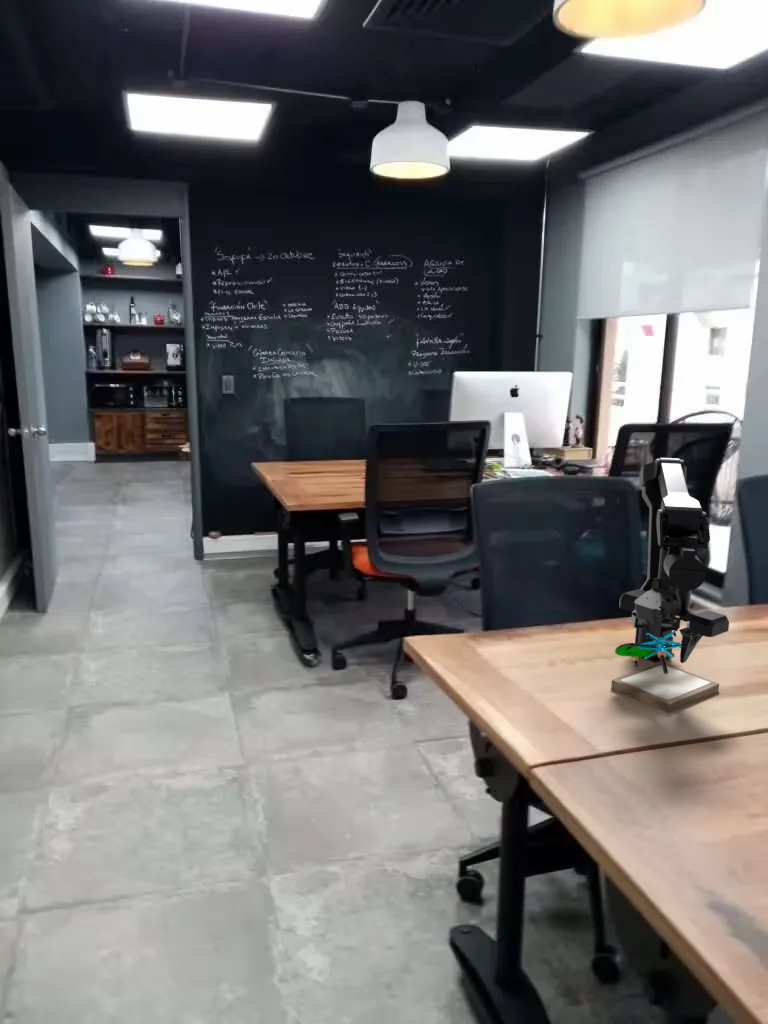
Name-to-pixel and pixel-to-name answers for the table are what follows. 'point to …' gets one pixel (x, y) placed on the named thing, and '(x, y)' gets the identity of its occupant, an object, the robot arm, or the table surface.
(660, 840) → the table surface
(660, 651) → the stick construction toy
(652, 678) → the walnut framed pale panel
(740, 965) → the table surface
